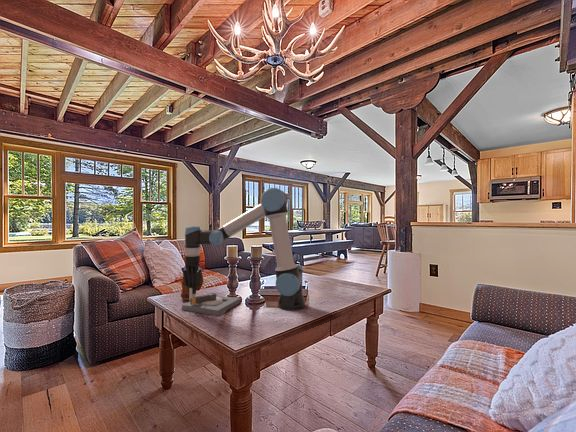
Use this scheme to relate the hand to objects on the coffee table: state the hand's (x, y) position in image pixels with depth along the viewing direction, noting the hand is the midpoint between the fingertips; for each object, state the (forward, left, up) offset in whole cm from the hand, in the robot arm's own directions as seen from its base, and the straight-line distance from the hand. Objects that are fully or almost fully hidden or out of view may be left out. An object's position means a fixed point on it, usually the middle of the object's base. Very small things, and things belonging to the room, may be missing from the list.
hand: (192, 299), depth 154 cm
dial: (-6, -5, -3) cm, 8 cm away
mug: (+12, -14, -5) cm, 19 cm away
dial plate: (-7, -7, -5) cm, 12 cm away
